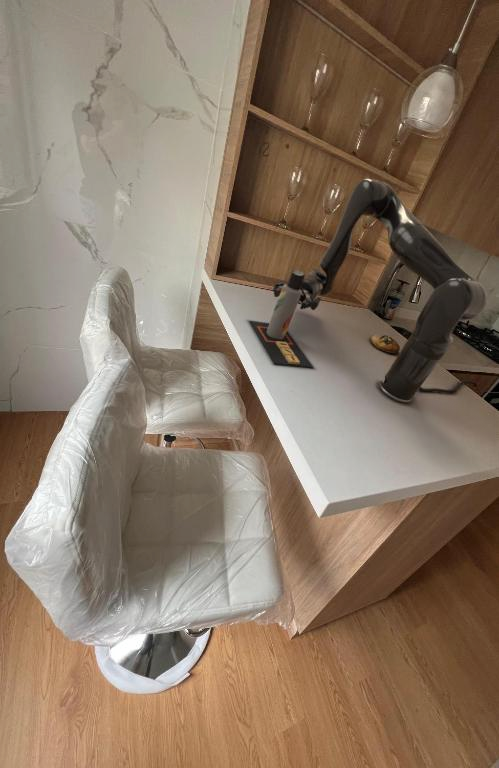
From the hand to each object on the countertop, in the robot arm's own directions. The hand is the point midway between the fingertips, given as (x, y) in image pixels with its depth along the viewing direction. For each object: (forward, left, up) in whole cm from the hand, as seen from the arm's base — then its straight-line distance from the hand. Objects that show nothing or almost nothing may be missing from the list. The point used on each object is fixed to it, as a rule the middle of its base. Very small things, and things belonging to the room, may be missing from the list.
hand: (289, 299), depth 95 cm
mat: (+2, +4, -12) cm, 13 cm away
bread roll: (-44, +16, -12) cm, 48 cm away
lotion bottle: (+1, 0, -12) cm, 12 cm away
